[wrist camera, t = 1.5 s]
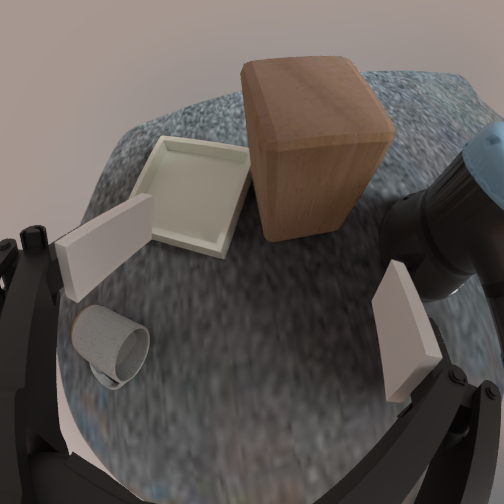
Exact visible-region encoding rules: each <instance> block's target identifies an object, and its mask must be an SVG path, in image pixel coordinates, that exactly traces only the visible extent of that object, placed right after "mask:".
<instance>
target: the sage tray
mask: <svg viewBox="0 0 504 504" xmlns="http://www.w3.org/2000/svg"><path fill="white" fill-rule="evenodd" d="M251 181H252V172H251V163H250V154H249V148H246V147H241V146H235V145H229V144H223V143H217V142H210V141H203V140H196V139H188V138H180V137H171V136H160V138H159V140H158V142H157V143H156V145H155V147H154V149H153V151H152V153H151V154H150V156H149V158H148V160H147V162H146V164H145V166H144V168H143V170H142V172H141V174H140V176H139V178H138V180H137V182H136V184H135V186H134V188H133V190H132V192H131V194H130V197H129V199H131V198H133V197H135V196H137V195H139V194H141V193H144V194H149V195H153V208H152V240H156V241H159V242H163V243H166V244H170V245H173V246H177V247H180V248H184V249H187V250H191V251H194V252H198V253H202V254H205V255H209V256H212V257H216V258H219V259H223V260H225V259H226V256H227V253H228V249H229V246H230V243H231V240H232V237H233V234H234V231H235V228H236V225H237V222H238V219H239V216H240V213H241V210H242V207H243V204H244V201H245V198H246V195H247V192H248V189H249V186H250V183H251ZM129 199H128V200H129Z"/></svg>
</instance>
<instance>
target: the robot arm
mask: <svg viewBox="0 0 504 504" xmlns="http://www.w3.org/2000/svg"><path fill="white" fill-rule="evenodd" d="M152 208H153V195H149V194H144V193H141V194H139V195H137V196H135V197H133V198H131V199H129V200H127V201H125V202H123V203H121V204H119V205H118V206H116V207H114V208H112V209H110V210H108V211H107V212H105V213H103V214H101V215H99V216H98V217H96V218H94V219H92V220H90V221H89V222H87V223H85V224H83V225H80V226H79V227H77V228H75V229H74V230H73V231H71V232H69V233H67V234H65V235H64V236H62V237H60V238H59V239H57V240H56V241H54V242H53V243H51V244H50V245H48V239H47V233H46V228H45V227H44V226H41V225H35V226H30V227H28V228H26V229H24V230H23V231H22V232H21V233H20V238H21V243H22V247H23V250H19V249H18V248H17V243H16V240H14V239H4V240H2V241H1V242H0V278H1V277H2V279H3V282H4V285H5V286H4V288H3V289H2V288H1V286H0V504H155V503H151V502H146V501H142V500H140V499H139V498H138V497H136V496H135V495H134V494H132V493H131V492H130V491H129V490H127V489H126V488H125V487H124V486H122V485H121V484H119V483H118V482H117V481H115V480H114V479H113V478H112V477H110V476H109V475H108V474H106V473H105V472H104V471H102V470H101V469H99V468H97V467H96V466H94V465H92V464H91V463H89V462H87V461H86V460H85V459H83V458H82V457H80V456H78V455H77V454H76V453H74V452H72V454H71V455H69V452H68V448H67V445H66V442H65V440H64V438H63V436H62V433H61V430H60V424H59V416H58V403H57V387H56V386H57V384H56V347H57V327H58V315H59V305H60V293H59V290H60V289H61V288H62V287H63V286H64V289H65V293H66V297H67V298H69V299H71V300H73V301H75V302H77V303H78V302H80V301H81V300H82V299H83V298H84V297H85V296H86V295H87V294H88V293H89V292H90V291H92V290H93V289H94V288H95V287H96V286H97V285H98V284H99V283H101V282H102V281H103V280H104V279H105V278H106V277H107V276H108V275H110V274H111V273H112V272H113V271H114V270H115V269H117V268H118V267H119V266H120V265H121V264H122V263H124V262H125V261H126V260H127V259H128V258H130V257H131V256H132V255H133V254H134V253H136V252H137V251H138V250H139V249H140V248H142V247H143V246H144V245H145V244H147V243H148V242H149V241H150V240H152ZM379 246H380V253H381V257H382V261H383V264H384V266H385V269H386V273H385V275H384V277H383V279H382V281H381V283H380V285H379V287H378V289H377V291H376V293H375V295H374V297H373V299H372V301H371V302H372V307H373V312H374V317H375V322H376V328H377V334H378V340H379V346H380V353H381V360H382V367H383V375H384V383H385V393H386V401H388V402H397V403H402V402H403V401H404V400H405V399H406V398H407V397H408V396H409V395H410V394H411V400H412V402H411V403H410V404H409V405H408V406H407V407H406V408H405V409H404V410H403V411H402V412H401V413H400V414H399V415H398V416H397V417H398V419H397V420H396V422H395V423H394V424H393V425H392V427H391V428H390V429H389V430H388V431H387V433H386V434H385V435H384V436H383V437H382V438H381V440H380V441H379V442H378V443H377V444H376V445H375V446H374V447H373V449H372V450H371V451H370V452H369V453H368V454H367V455H366V456H365V457H364V458H363V459H362V460H361V461H360V462H359V463H358V464H357V465H356V466H355V467H354V468H353V469H352V470H351V471H350V472H349V473H348V474H347V475H346V476H345V477H344V478H343V479H342V480H340V481H339V482H338V483H337V484H336V485H335V486H334V487H333V488H331V489H330V490H329V491H328V492H327V493H326V494H324V495H323V496H322V497H321V498H320V499H318V500H317V501H316V502H315V503H313V504H401V503H402V502H403V500H404V499H405V498H406V496H407V495H408V494H409V492H410V491H411V490H412V488H413V487H414V486H415V484H416V483H417V481H418V480H419V478H420V477H421V475H422V474H423V472H424V471H425V469H426V468H427V466H428V464H429V463H430V464H429V467H428V470H427V472H426V475H425V478H424V480H423V483H422V485H421V488H420V490H419V492H418V495H417V497H416V499H415V502H414V504H488V502H489V498H490V494H491V489H492V485H493V480H494V475H495V469H496V463H497V456H498V448H499V438H500V425H501V423H500V422H501V394H500V391H499V389H498V387H497V386H496V385H495V384H494V383H493V382H491V381H488V380H486V381H484V382H483V383H482V384H481V385H480V386H479V387H478V388H477V387H475V386H473V385H470V384H468V380H467V376H466V375H465V373H464V372H463V370H462V369H461V368H459V367H458V366H456V365H453V364H452V363H451V361H450V358H449V355H448V352H447V349H446V346H445V344H444V343H443V342H444V341H443V338H442V337H441V333H440V331H439V328H438V326H437V325H436V324H435V322H434V321H433V320H432V318H428V317H427V314H426V312H425V309H424V307H423V304H422V302H421V301H424V302H432V301H437V300H441V299H444V298H447V297H449V296H451V295H452V294H454V293H455V292H456V291H457V290H458V289H459V288H460V287H461V286H462V285H463V284H464V283H465V282H466V281H467V280H468V279H469V278H470V277H471V276H472V275H473V274H475V273H477V275H478V278H479V280H480V283H481V285H482V288H483V290H484V293H485V297H486V300H487V303H488V306H489V309H490V312H491V315H492V318H493V321H494V325H495V328H496V332H497V336H498V340H499V344H500V348H501V361H502V365H503V368H504V122H492V123H489V124H487V125H486V126H485V127H484V128H483V129H482V130H481V131H480V132H479V133H478V134H477V135H476V136H475V137H474V138H473V139H471V140H469V141H468V142H466V144H465V145H464V147H463V150H462V151H461V152H460V153H459V155H458V156H457V157H456V158H455V159H454V160H453V161H452V163H451V164H450V165H449V166H448V167H447V168H446V169H445V170H444V172H443V173H442V174H441V175H440V176H439V177H438V178H437V179H436V180H435V181H434V183H433V184H432V185H431V186H430V187H429V188H428V189H425V190H422V191H419V192H417V193H413V194H409V195H407V196H405V197H403V198H401V199H400V200H399V201H397V202H396V203H395V204H394V205H393V207H392V208H391V209H390V210H389V211H388V212H387V214H386V215H385V217H384V219H383V222H382V225H381V229H380V235H379ZM467 432H468V433H467Z"/></svg>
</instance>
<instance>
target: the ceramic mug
mask: <svg viewBox="0 0 504 504" xmlns="http://www.w3.org/2000/svg"><path fill="white" fill-rule="evenodd" d="M71 341H72V344H73V346H74V348H75V349H76V351H77V352H78V353H79V354H80V355H81V356H82V357H83V358H84V359H86V360H87V361H89V364H90V367H91V370H92V372H93V374H94V376H95V377H96V378H97V380H98V381H99V382H100V383H101V384H103V385H104V386H105V387H107V388H109V389H111V390H116V389H119V388H120V387H122V386H123V385H124V384H125V383H126V382H128V381H129V380H131V379H132V378H133V377H134V376H135V375H136V374H137V373H138V371H139V370H140V369H141V367H142V365H143V363H144V361H145V358H146V356H147V353H148V349H149V345H150V335H149V332H148V330H147V329H146V328H145V327H144V326H143V325H141V324H138V323H136V322H134V321H132V320H130V319H128V318H126V317H124V316H122V315H119V314H117V313H116V312H114V311H112V310H110V309H108V308H106V307H103V306H100V305H90V306H87V307H85V308H84V309H83V310H81V311H80V313H79V314H78V315H77V316H76V318H75V320H74V322H73V325H72V329H71ZM103 372H104V373H105V374H106V375H108V376H109V377H111V378H112V379H114V380H115V381H117V382H119V383H115V382H114V381H112V380H111V379H110V378H108V377H107V376H106V375H105V374H104V373H103Z"/></svg>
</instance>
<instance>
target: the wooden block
mask: <svg viewBox="0 0 504 504" xmlns="http://www.w3.org/2000/svg"><path fill="white" fill-rule="evenodd" d="M240 74H241V82H242V91H243V100H244V109H245V118H246V127H247V136H248V145H249V154H250V163H251V172H252V181H253V186H254V191H255V195H256V200H257V205H258V209H259V214H260V219H261V224H262V229H263V233H264V237H265V238H266V240H267V241H269V242H278V241H284V240H289V239H294V238H300V237H305V236H310V235H316V234H321V233H327V232H332V231H336V230H338V229H339V228H340V227H341V226H342V224H343V223H344V221H345V220H346V218H347V217H348V215H349V213H350V212H351V210H352V209H353V207H354V206H355V204H356V202H357V201H358V199H359V198H360V196H361V194H362V193H363V191H364V189H365V188H366V186H367V185H368V183H369V181H370V180H371V178H372V176H373V175H374V173H375V171H376V170H377V168H378V166H379V164H380V163H381V161H382V159H383V158H384V156H385V154H386V152H387V151H388V149H389V147H390V145H391V144H392V142H393V140H394V138H395V128H394V124H393V122H392V121H391V119H390V117H389V116H388V114H387V112H386V111H385V109H384V107H383V106H382V104H381V103H380V101H379V100H378V98H377V96H376V95H375V93H374V92H373V90H372V89H371V87H370V86H369V85H368V83H367V82H366V80H365V79H364V77H363V76H362V75H361V73H360V72H359V71H358V69H357V68H356V66H355V65H354V64H353V63H352V61H351V60H349V59H347V58H344V57H341V56H309V57H288V58H275V59H265V60H256V61H250V62H247V63H245V64H244V66H243V69H242V71H241V73H240Z"/></svg>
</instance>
